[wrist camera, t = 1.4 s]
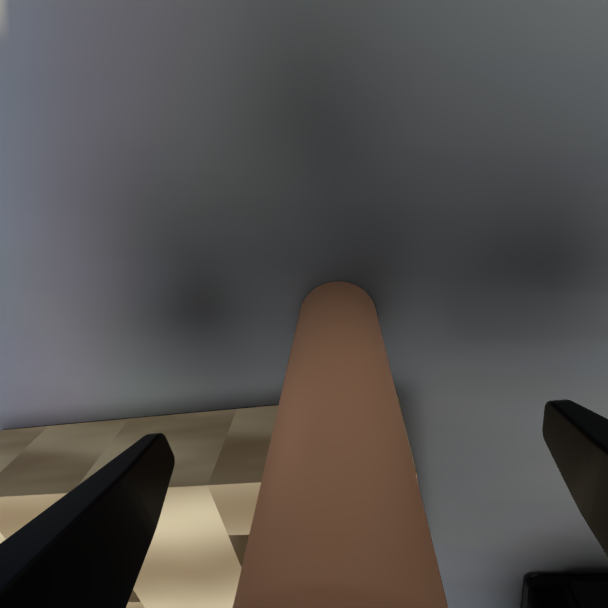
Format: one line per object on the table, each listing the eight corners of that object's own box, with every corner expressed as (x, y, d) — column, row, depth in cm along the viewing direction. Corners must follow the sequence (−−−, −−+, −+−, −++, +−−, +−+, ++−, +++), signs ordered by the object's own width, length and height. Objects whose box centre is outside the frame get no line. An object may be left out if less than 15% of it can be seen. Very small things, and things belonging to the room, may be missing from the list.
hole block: (411, 543, 19) (430, 637, 15) (84, 551, 22) (34, 632, 18) (397, 394, 15) (416, 473, 11) (2, 429, 18) (-83, 501, 14)
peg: (380, 345, 14) (459, 708, 5) (307, 353, 14) (256, 700, 5) (372, 275, 13) (457, 582, 4) (293, 287, 13) (199, 584, 4)
